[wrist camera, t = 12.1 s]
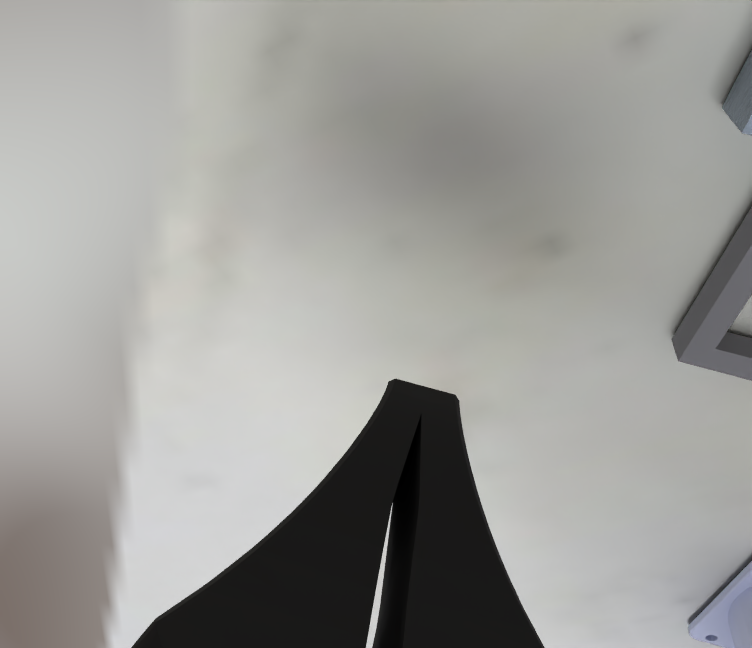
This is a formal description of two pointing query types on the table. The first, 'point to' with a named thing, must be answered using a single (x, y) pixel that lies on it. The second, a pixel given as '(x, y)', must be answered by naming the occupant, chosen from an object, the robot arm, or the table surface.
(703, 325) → the grey mounting plate
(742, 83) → the port block
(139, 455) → the table surface
